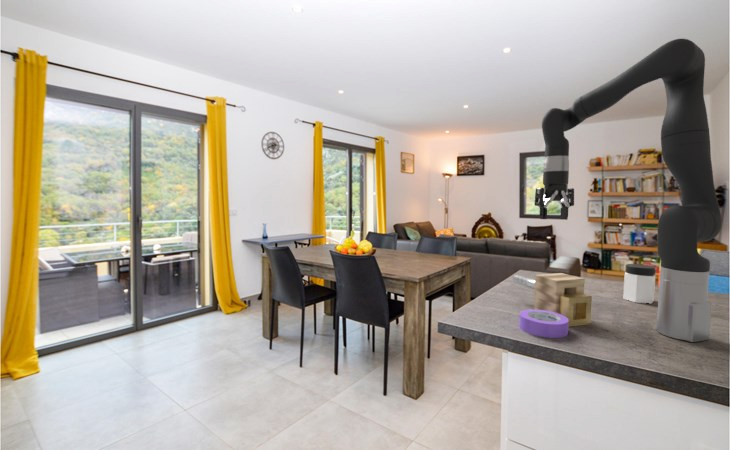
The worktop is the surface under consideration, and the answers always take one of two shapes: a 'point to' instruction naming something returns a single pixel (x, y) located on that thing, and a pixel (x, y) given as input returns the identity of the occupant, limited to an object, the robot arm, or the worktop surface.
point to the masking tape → (543, 323)
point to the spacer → (582, 308)
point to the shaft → (527, 281)
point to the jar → (639, 283)
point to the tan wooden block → (555, 290)
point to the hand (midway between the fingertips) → (553, 219)
